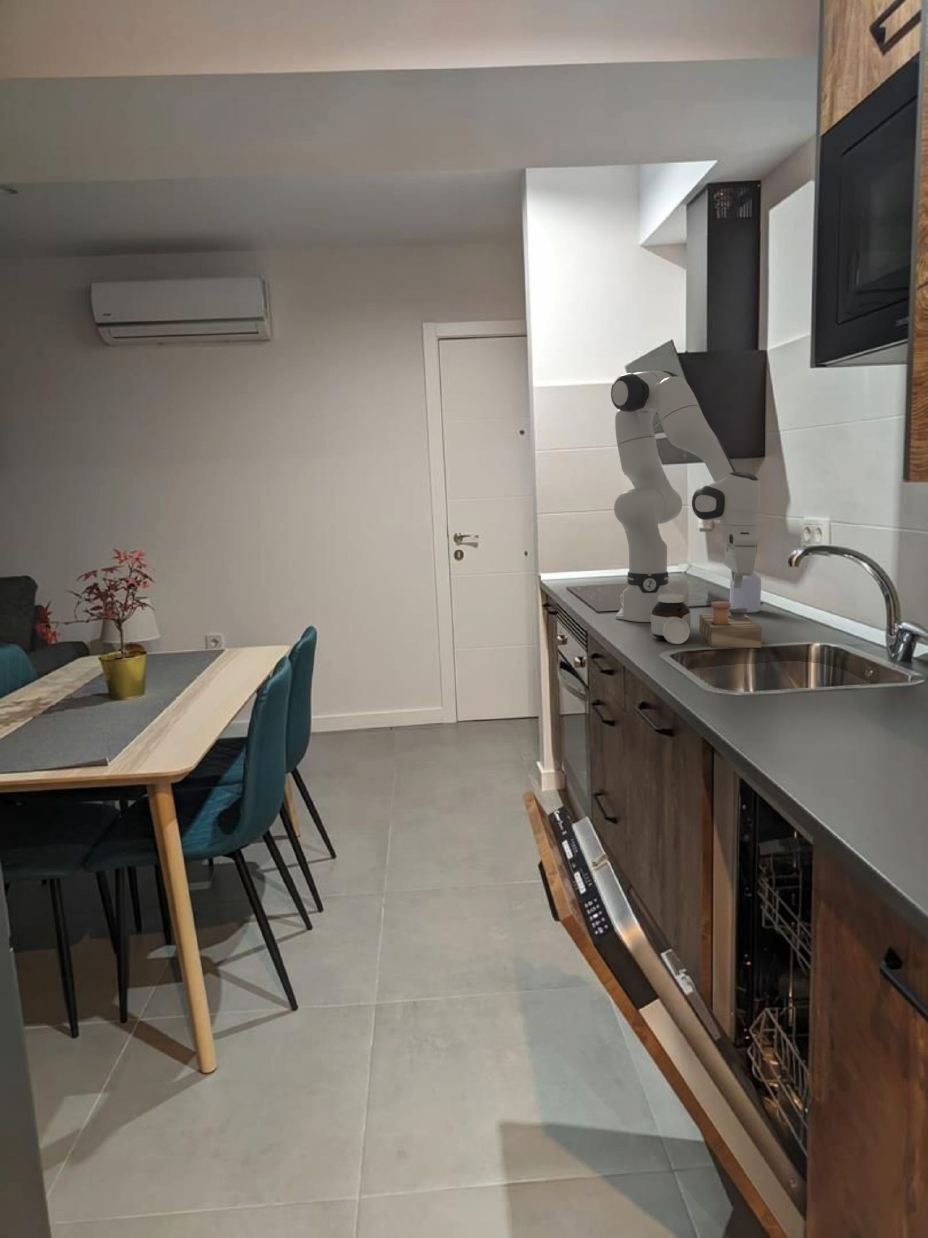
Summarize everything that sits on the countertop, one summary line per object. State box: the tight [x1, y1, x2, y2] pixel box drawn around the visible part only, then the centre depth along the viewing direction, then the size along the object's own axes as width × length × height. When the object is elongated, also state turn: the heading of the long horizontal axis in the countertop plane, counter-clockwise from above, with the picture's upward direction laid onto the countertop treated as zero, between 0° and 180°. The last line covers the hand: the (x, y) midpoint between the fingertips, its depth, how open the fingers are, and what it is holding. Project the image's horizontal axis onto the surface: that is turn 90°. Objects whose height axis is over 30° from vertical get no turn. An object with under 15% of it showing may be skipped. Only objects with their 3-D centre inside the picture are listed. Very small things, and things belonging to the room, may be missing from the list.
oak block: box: [698, 613, 763, 649], centre depth 221 cm, size 20×12×5 cm, turn 173°
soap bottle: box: [729, 546, 762, 614], centre depth 261 cm, size 9×9×25 cm
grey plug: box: [728, 606, 747, 619], centre depth 225 cm, size 5×5×7 cm
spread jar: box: [650, 593, 691, 645], centre depth 221 cm, size 12×11×12 cm
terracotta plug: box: [710, 600, 731, 626], centre depth 216 cm, size 5×5×7 cm
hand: (736, 587), depth 224 cm, fingers closed
